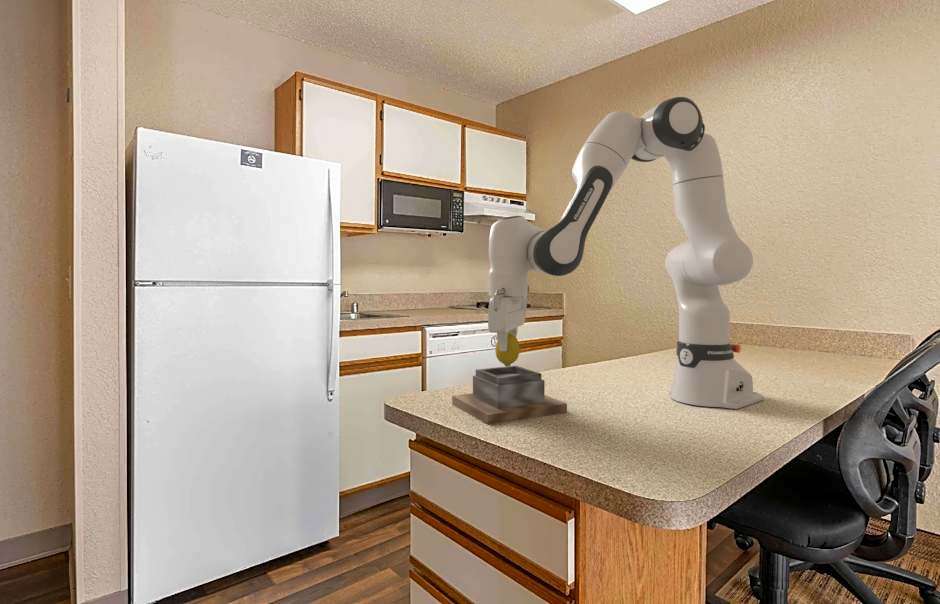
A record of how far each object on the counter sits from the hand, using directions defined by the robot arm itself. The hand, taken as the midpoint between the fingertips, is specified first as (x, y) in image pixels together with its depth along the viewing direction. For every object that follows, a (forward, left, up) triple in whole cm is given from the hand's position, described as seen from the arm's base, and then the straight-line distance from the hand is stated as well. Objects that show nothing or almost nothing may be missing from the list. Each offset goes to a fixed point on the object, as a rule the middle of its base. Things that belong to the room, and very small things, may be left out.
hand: (507, 348), depth 114 cm
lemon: (0, 0, -4) cm, 4 cm away
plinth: (0, 0, -14) cm, 14 cm away
